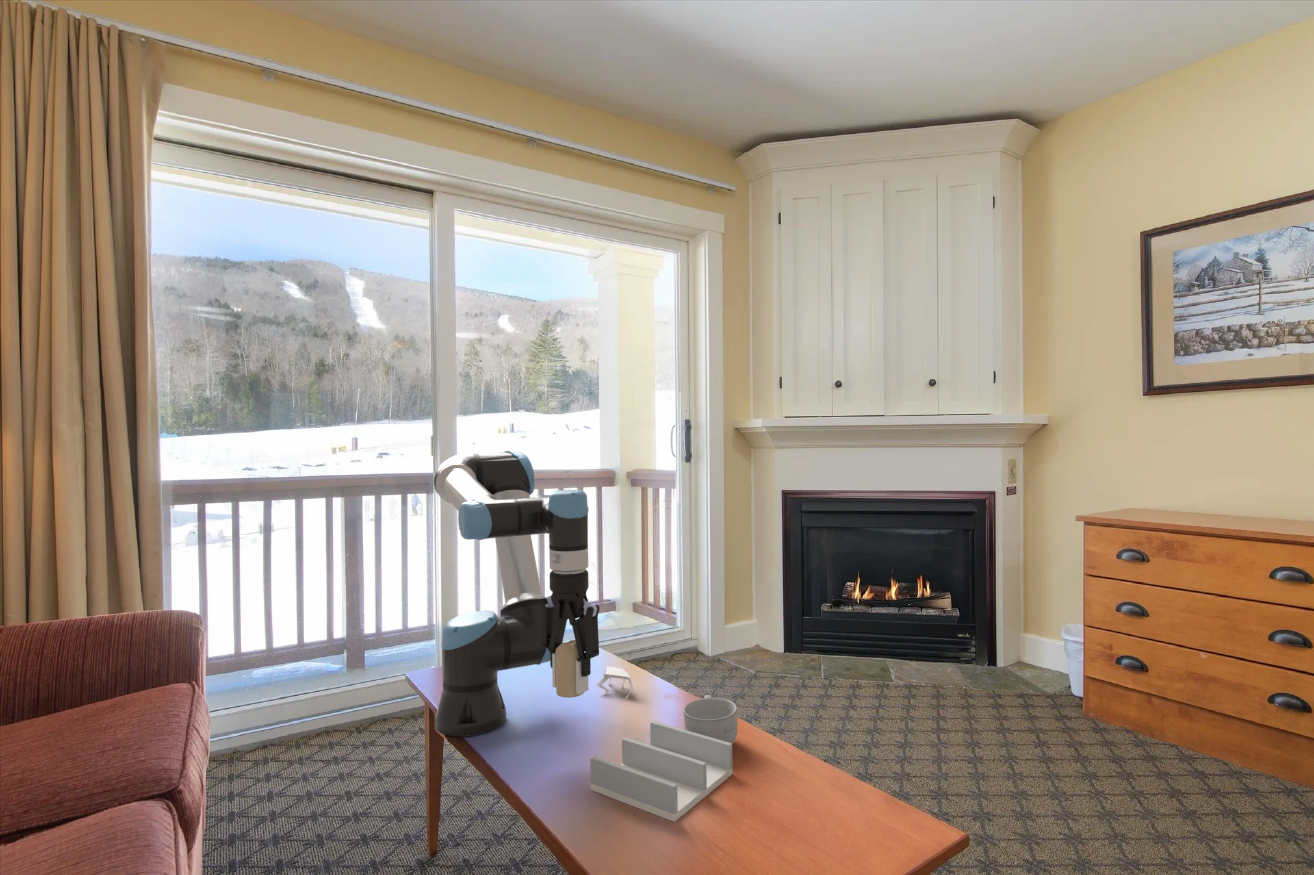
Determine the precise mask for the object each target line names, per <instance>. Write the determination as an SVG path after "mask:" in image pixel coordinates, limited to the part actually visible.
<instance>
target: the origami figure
mask: <svg viewBox="0 0 1314 875" xmlns="http://www.w3.org/2000/svg"><path fill="white" fill-rule="evenodd" d="M602 675H603V678H602V679H601V680H600V681H599V682H598V683H597V684H596V686H597V687H598V688H600V689H603V690H604V692H602V694H601V695H602V696H604V695H606V694H607V693H609V692H610V690H609V689H608V688H606V687H605V686H603V685H604V684H605V682H606V681H607V680H608V686H611V680H612V679H620V680H621V679H622V683H621V688H622V689H624V685H625V682H626V680H628V684H629V689H630V690H629V691H628V693H627V695H626V697H625V698H626V699H629V697H630V694H631V693H632V692H633V691H634V687H633V683H632V679H631V676H630V675H629V673H628V671H625V669H624V668H619V667H615V666H614V667H613V666H608V665H606V671H605V673H603V674H602Z"/></svg>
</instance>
